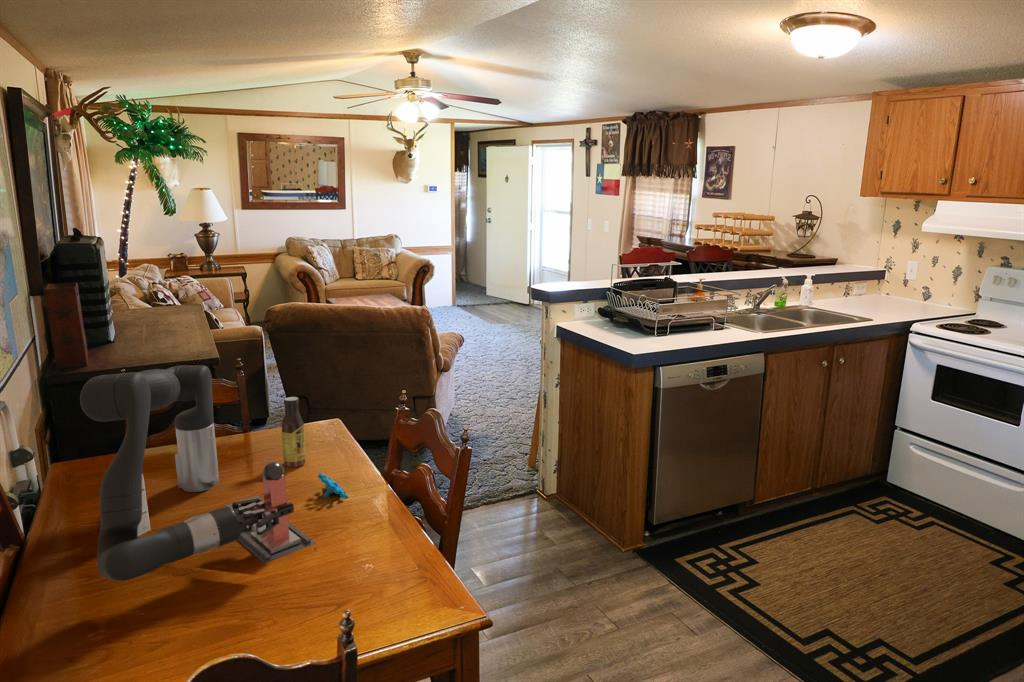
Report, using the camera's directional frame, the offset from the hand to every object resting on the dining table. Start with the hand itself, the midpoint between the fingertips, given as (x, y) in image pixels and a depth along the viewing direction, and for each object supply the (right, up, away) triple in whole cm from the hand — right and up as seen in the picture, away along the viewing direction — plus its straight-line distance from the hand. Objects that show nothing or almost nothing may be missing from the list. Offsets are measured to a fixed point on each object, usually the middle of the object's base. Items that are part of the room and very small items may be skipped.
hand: (288, 504), depth 150 cm
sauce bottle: (-13, 0, +45) cm, 47 cm away
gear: (+4, -5, +25) cm, 25 cm away
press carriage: (-3, -8, +1) cm, 9 cm away
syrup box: (-38, -8, +6) cm, 40 cm away
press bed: (-8, -9, +6) cm, 13 cm away
